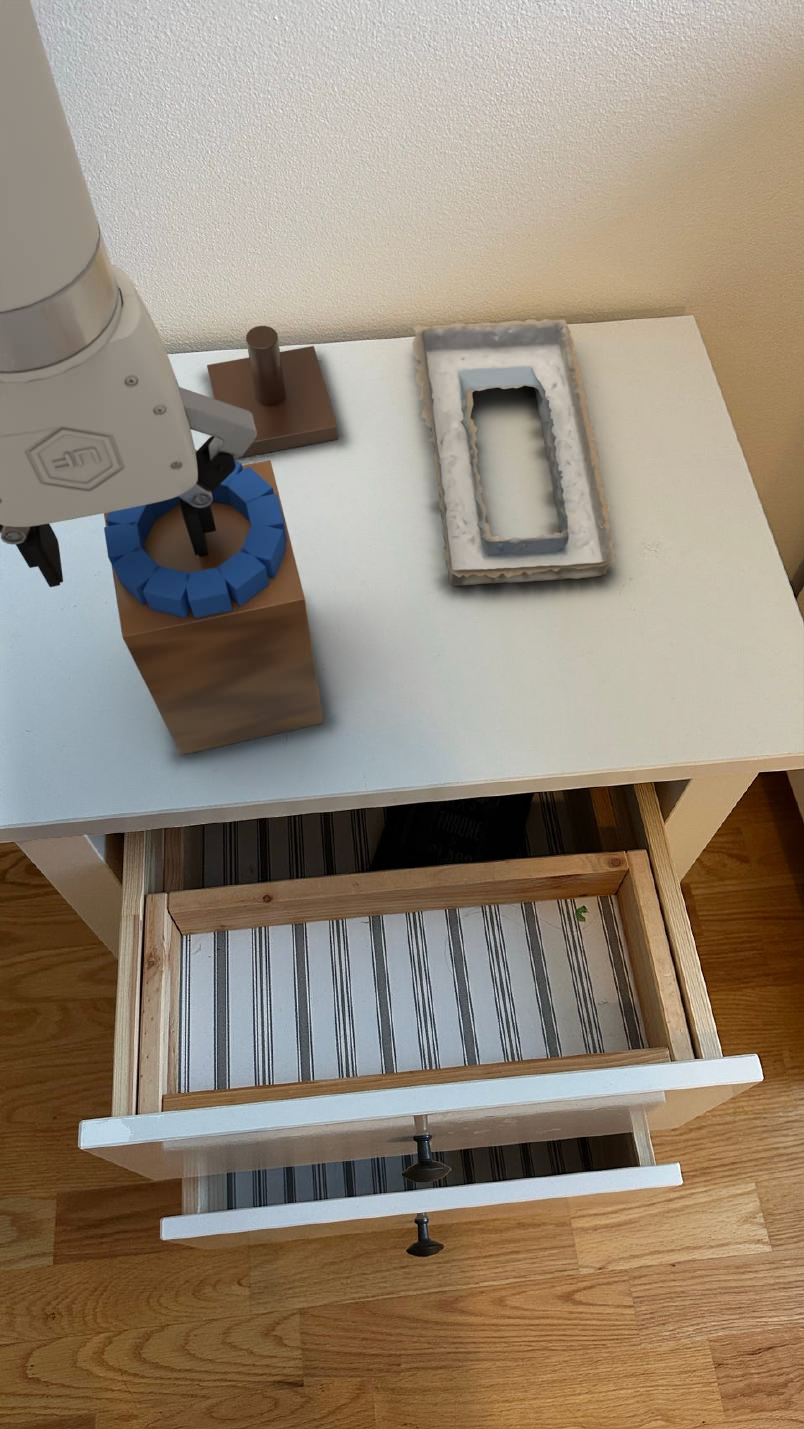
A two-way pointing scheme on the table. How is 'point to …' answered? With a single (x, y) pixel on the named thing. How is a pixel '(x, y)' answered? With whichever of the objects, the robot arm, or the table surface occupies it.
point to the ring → (206, 586)
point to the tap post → (277, 393)
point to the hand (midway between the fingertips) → (126, 549)
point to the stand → (224, 642)
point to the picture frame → (548, 364)
